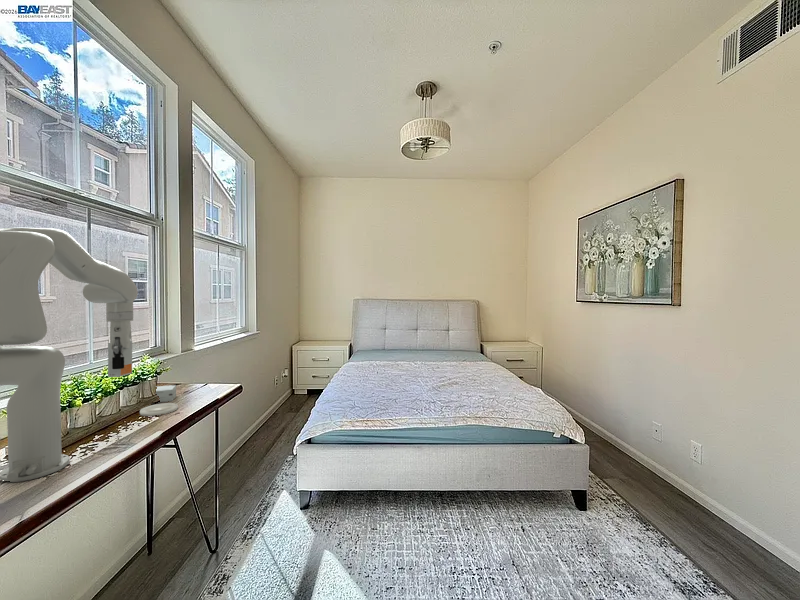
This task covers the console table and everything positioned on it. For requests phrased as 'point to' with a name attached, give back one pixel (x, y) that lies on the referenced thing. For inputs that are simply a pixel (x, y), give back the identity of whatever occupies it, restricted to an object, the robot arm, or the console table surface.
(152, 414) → the ceramic dish
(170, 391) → the small box
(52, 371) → the robot arm
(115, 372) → the skincare box
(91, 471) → the console table surface
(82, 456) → the console table surface
